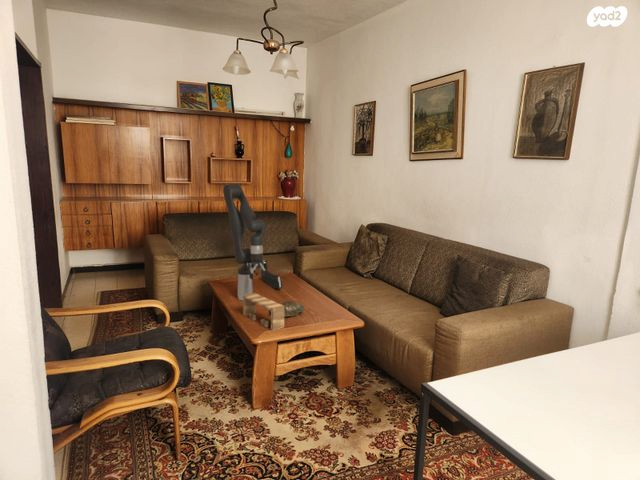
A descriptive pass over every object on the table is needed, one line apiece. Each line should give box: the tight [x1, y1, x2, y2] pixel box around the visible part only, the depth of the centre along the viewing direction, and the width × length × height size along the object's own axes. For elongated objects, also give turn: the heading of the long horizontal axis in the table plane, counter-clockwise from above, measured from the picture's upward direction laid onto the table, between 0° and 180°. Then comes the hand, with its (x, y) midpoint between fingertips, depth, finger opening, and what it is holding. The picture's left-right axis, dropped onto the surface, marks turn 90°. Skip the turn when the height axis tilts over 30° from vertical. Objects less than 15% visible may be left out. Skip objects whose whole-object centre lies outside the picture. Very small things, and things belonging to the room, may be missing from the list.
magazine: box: [261, 269, 284, 291], centre depth 295 cm, size 17×3×30 cm
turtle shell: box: [269, 300, 305, 318], centre depth 241 cm, size 16×9×20 cm
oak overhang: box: [242, 292, 285, 332], centre depth 229 cm, size 29×8×12 cm, turn 43°
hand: (257, 277), depth 254 cm, fingers open, 8 cm apart
